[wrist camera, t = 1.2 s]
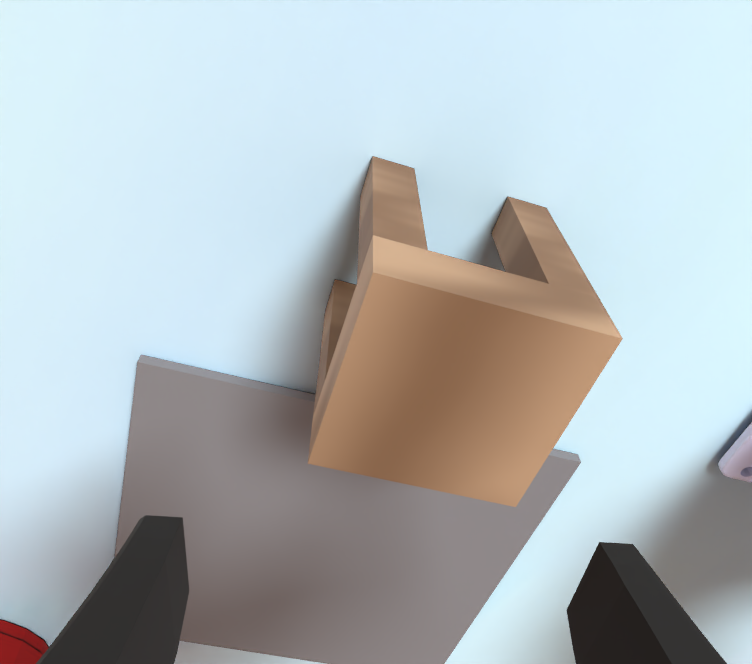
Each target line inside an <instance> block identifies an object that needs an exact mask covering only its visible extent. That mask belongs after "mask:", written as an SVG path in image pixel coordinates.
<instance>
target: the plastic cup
mask: <svg viewBox="0 0 752 664" xmlns="http://www.w3.org/2000/svg"><path fill="white" fill-rule="evenodd" d="M48 648H49V647H48V646H47V644H46V643H45V641H44V640H42V639H41V638H39V637H38V636H36V635H35V634H33V633H32V632H30V631H29V630H27V629H25V628H23V627H20V626H17V625H14V624H12V623H9V622H6V621H3V620H0V664H36V663H37V662H38V660H39V659H40V658H41V657H42V655H43V654H44V653H45V652H46V651H47V649H48Z"/></svg>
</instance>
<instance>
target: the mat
mask: <svg viewBox="0 0 752 664" xmlns="http://www.w3.org/2000/svg"><path fill="white" fill-rule="evenodd" d="M314 404H315V394H311V393H307V392H302V391H298V390H294V389H289V388H285V387H280V386H276V385H272V384H267V383H263V382H259V381H254V380H250V379H245V378H241V377H237V376H232V375H228V374H224V373H219V372H215V371H210V370H206V369H202V368H197V367H193V366H189V365H184V364H180V363H175V362H171V361H167V360H162V359H158V358H154V357H149V356H145V355H141V356H140V358H139V360H138V362H137V370H136V379H135V387H134V396H133V404H132V413H131V421H130V430H129V438H128V447H127V455H126V464H125V472H124V481H123V489H122V498H121V506H120V515H119V523H118V532H117V540H116V549H115V557H116V555H117V554H118V552H119V551H120V549H121V548H122V546H123V545H124V543H125V542H126V540H127V539H128V537H129V535H130V534H131V532H132V531H133V529H134V527H135V526H136V524H137V522H138V521H139V519H141V518H142V517H144V516H145V515H151V516H168V517H183V526H184V537H185V548H186V559H187V570H188V581H189V595H188V600H187V605H186V610H185V616H184V621H183V626H182V631H181V635H180V640H179V641H185V642H192V643H198V644H205V645H211V646H217V647H224V648H230V649H237V650H243V651H249V652H256V653H262V654H269V655H275V656H282V657H288V658H294V659H301V660H307V661H314V662H320V663H327V664H444V663H445V662H446V660H447V659H448V657H449V656H450V654H451V653H452V652H453V650H454V649H455V647H456V646H457V644H458V643H459V641H460V640H461V638H462V637H463V635H464V634H465V632H466V631H467V629H468V628H469V627H470V625H471V624H472V622H473V621H474V619H475V618H476V616H477V615H478V613H479V612H480V610H481V609H482V607H483V606H484V604H485V603H486V601H487V600H488V599H489V597H490V596H491V594H492V593H493V591H494V590H495V588H496V587H497V585H498V584H499V582H500V581H501V579H502V578H503V576H504V575H505V573H506V572H507V571H508V569H509V568H510V566H511V565H512V563H513V562H514V560H515V559H516V557H517V556H518V554H519V553H520V551H521V550H522V548H523V547H524V545H525V544H526V543H527V541H528V540H529V538H530V537H531V535H532V534H533V532H534V531H535V529H536V528H537V526H538V525H539V523H540V522H541V520H542V519H543V518H544V516H545V515H546V513H547V512H548V510H549V509H550V507H551V506H552V504H553V503H554V501H555V500H556V498H557V497H558V495H559V494H560V492H561V491H562V490H563V488H564V487H565V485H566V484H567V482H568V481H569V479H570V478H571V476H572V475H573V473H574V472H575V470H576V469H577V467H578V466H579V464H580V463H581V461H580V459H579V456H578V454H573V453H569V452H565V451H560V450H556V449H552V451H551V452H550V454H549V456H548V457H547V459H546V460H545V462H544V463H543V465H542V467H541V468H540V470H539V471H538V473H537V474H536V476H535V478H534V479H533V481H532V482H531V484H530V486H529V487H528V489H527V490H526V492H525V493H524V495H523V497H522V498H521V500H520V501H519V503H518V504H517V506H516V507H513V506H508V505H503V504H498V503H493V502H489V501H484V500H479V499H474V498H470V497H465V496H460V495H455V494H450V493H446V492H441V491H436V490H431V489H427V488H422V487H417V486H412V485H407V484H403V483H398V482H393V481H388V480H384V479H379V478H374V477H369V476H364V475H360V474H355V473H350V472H345V471H341V470H336V469H331V468H326V467H321V466H317V465H312V464H308V456H309V447H310V438H311V430H312V421H313V412H314ZM115 557H114V558H115Z"/></svg>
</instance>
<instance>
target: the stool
mask: <svg viewBox="0 0 752 664" xmlns="http://www.w3.org/2000/svg"><path fill="white" fill-rule="evenodd" d="M491 234H492V237H493V239H494V242H495V245H496V248H497V250H498V253H499V256H500V258H501V261H502V264H503V267H504V269H505V272H504V271H501V270H497V269H494V268H490V267H486V266H483V265H479V264H475V263H472V262H468V261H465V260H461V259H457V258H454V257H450V256H446V255H443V254H439V253H436V252H432V251H428V249H427V243H426V237H425V231H424V225H423V219H422V213H421V207H420V200H419V194H418V188H417V182H416V176H415V170H414V168H411V167H408V166H404V165H401V164H397V163H394V162H391V161H387V160H384V159H381V158H377V157H374V156H372V160H371V163H370V166H369V170H368V173H367V176H366V179H365V183H364V186H363V189H362V192H361V196H360V218H359V244H358V269H357V285H355V284H351V283H347V282H344V281H340V280H336V279H335V281H334V284H333V287H332V290H331V294H330V297H329V300H328V303H327V307H326V310H325V317H324V325H323V334H322V343H321V351H320V360H319V369H318V377H317V386H316V395H315V404H314V412H313V421H312V430H311V438H310V447H309V456H308V464H312V465H317V466H321V467H326V468H331V469H336V470H341V471H345V472H350V473H355V474H360V475H364V476H369V477H374V478H379V479H384V480H388V481H393V482H398V483H403V484H407V485H412V486H417V487H422V488H427V489H431V490H436V491H441V492H446V493H450V494H455V495H460V496H465V497H470V498H474V499H479V500H484V501H489V502H493V503H498V504H503V505H508V506H513V507H516V506H517V504H518V503H519V501H520V500H521V498H522V497H523V495H524V493H525V492H526V490H527V489H528V487H529V486H530V484H531V482H532V481H533V479H534V478H535V476H536V474H537V473H538V471H539V470H540V468H541V467H542V465H543V463H544V462H545V460H546V459H547V457H548V456H549V454H550V452H551V451H552V449H553V448H554V446H555V444H556V443H557V441H558V440H559V438H560V437H561V435H562V433H563V432H564V430H565V429H566V427H567V426H568V424H569V422H570V421H571V419H572V418H573V416H574V414H575V413H576V411H577V410H578V408H579V407H580V405H581V403H582V402H583V400H584V399H585V397H586V396H587V394H588V392H589V391H590V389H591V388H592V386H593V384H594V383H595V381H596V380H597V378H598V377H599V375H600V373H601V372H602V370H603V369H604V367H605V366H606V364H607V362H608V361H609V359H610V358H611V356H612V355H613V353H614V351H615V350H616V348H617V347H618V345H619V343H620V342H621V340H622V337H621V335H620V333H619V332H618V330H617V328H616V327H615V325H614V323H613V321H612V320H611V318H610V316H609V315H608V313H607V311H606V309H605V308H604V306H603V304H602V303H601V301H600V299H599V297H598V296H597V294H596V292H595V290H594V289H593V287H592V285H591V284H590V282H589V280H588V278H587V277H586V275H585V273H584V272H583V270H582V268H581V266H580V265H579V263H578V261H577V260H576V258H575V256H574V254H573V253H572V251H571V249H570V248H569V246H568V244H567V242H566V241H565V239H564V237H563V235H562V234H561V232H560V230H559V229H558V227H557V225H556V223H555V222H554V220H553V218H552V217H551V215H550V213H549V211H548V210H547V208H545V207H542V206H538V205H535V204H532V203H528V202H525V201H522V200H518V199H515V198H511V197H507V200H506V202H505V204H504V206H503V209H502V211H501V213H500V215H499V218H498V220H497V222H496V224H495V227H494V229H493V231H492V233H491Z"/></svg>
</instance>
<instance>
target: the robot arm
mask: <svg viewBox="0 0 752 664" xmlns="http://www.w3.org/2000/svg"><path fill="white" fill-rule="evenodd" d="M718 467H719V469H720V470H721V472H722V473H723V475H724V476H727V477H730V478H734V479H738V480H743V481H747V482H751V483H752V422H751V424H750V425H749V426H748V427H747V428H746V430H745V431H744V432H743V433H742V434H741V435H740V437H739V438H738V439H737V440H736V441H735V443H734V444H733V445H732V446H731V447H730V448H729V450H728V451H727V452H726V453H725V454H724V456H723V457H722V458H721V459H720V461H719V463H718ZM188 595H189V581H188V570H187V559H186V548H185V537H184V526H183V517H168V516H151V515H145V516H144V517H142V518H141V519H139V521H138V522H137V524H136V526H135V527H134V529H133V531H132V532H131V534H130V535H129V537H128V539H127V540H126V542H125V543H124V545H123V546H122V548H121V549H120V551H119V552H118V554H117V555H116V557H115V558H114V560H113V561H112V563H111V564H110V566H109V567H108V569H107V570H106V571H105V573H104V574H103V576H102V577H101V579H100V580H99V581H98V583H97V584H96V586H95V587H94V588H93V590H92V591H91V593H90V594H89V595H88V597H87V598H86V599H85V601H84V602H83V603H82V605H81V606H80V607H79V609H78V610H77V611H76V613H75V614H74V615H73V617H72V618H71V619H70V621H69V622H68V623H67V625H66V626H65V627H64V629H63V630H62V631H61V633H60V634H59V635H58V637H57V638H56V639H55V640H54V642H53V643H52V644H51V646H50V647H49V648H48V649H47V651H46V652H45V653H44V654H43V655H42V657H41V658H40V659H39V660H38V662H37V663H36V664H174V661H175V658H176V654H177V650H178V645H179V640H180V635H181V631H182V626H183V621H184V616H185V610H186V605H187V600H188ZM567 615H568V621H569V627H570V633H571V639H572V645H573V650H574V655H575V661H576V664H727V663H726V662H725V661H724V660H723V658H722V657H721V656H720V655H719V653H718V652H717V651H716V650H715V649H714V647H713V646H712V645H711V644H710V642H709V641H708V640H707V639H706V637H705V636H704V635H703V634H702V632H701V631H700V630H699V629H698V627H697V626H696V625H695V624H694V622H693V621H692V620H691V618H690V617H689V616H688V615H687V613H686V612H685V611H684V609H683V608H682V607H681V606H680V604H679V603H678V602H677V600H676V599H675V598H674V597H673V595H672V594H671V593H670V591H669V590H668V589H667V588H666V586H665V585H664V584H663V582H662V581H661V580H660V578H659V577H658V576H657V575H656V573H655V572H654V571H653V569H652V568H651V567H650V566H649V564H648V563H647V562H646V560H645V559H644V558H643V557H642V555H641V554H640V553H639V551H638V550H637V549H636V548H635V546H634V545H633V544H621V543H604V542H599V544H598V546H597V548H596V550H595V552H594V554H593V556H592V559H591V561H590V563H589V565H588V567H587V569H586V571H585V573H584V575H583V577H582V579H581V581H580V584H579V586H578V588H577V590H576V592H575V594H574V596H573V598H572V600H571V602H570V604H569V606H568V608H567Z"/></svg>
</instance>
